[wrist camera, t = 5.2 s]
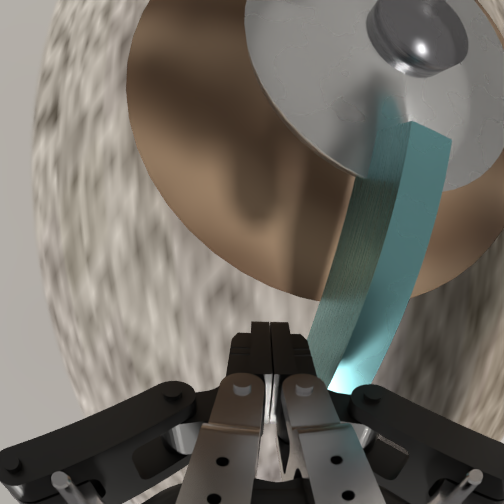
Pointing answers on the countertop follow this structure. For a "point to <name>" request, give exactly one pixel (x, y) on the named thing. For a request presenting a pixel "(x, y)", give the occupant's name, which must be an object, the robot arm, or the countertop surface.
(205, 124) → the base plate
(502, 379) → the countertop surface
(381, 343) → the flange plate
